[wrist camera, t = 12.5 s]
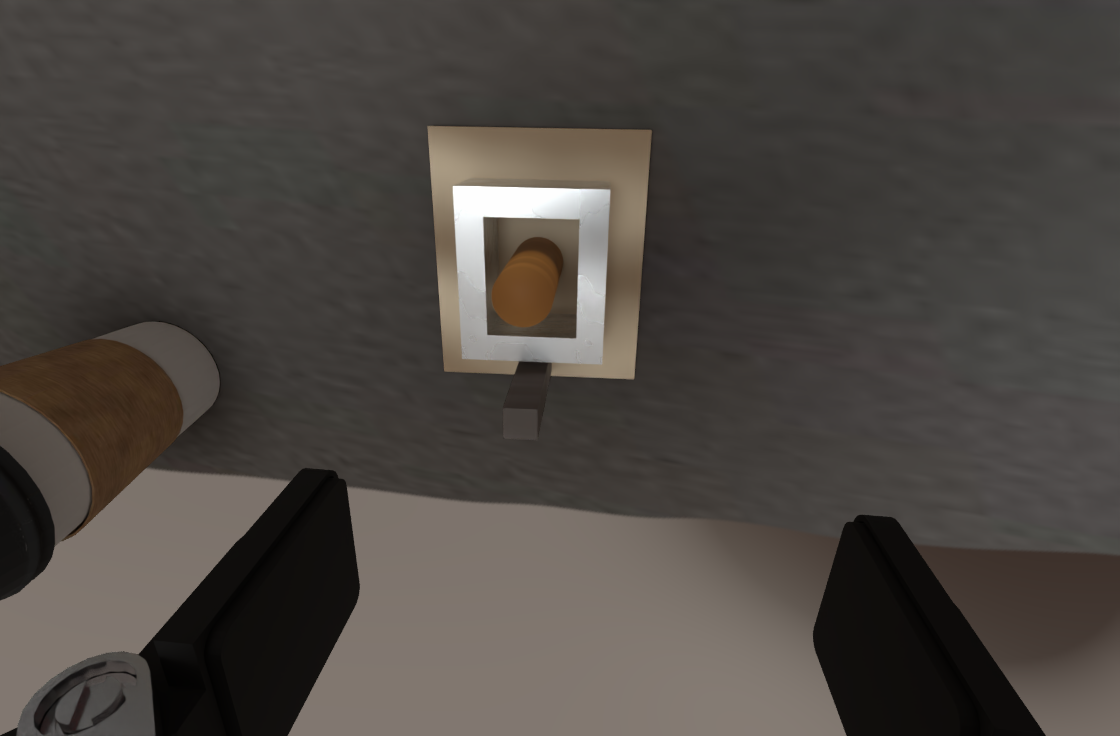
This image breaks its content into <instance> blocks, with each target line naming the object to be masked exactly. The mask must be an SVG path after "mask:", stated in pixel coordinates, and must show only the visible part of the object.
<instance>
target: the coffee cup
mask: <svg viewBox="0 0 1120 736" xmlns="http://www.w3.org/2000/svg"><path fill="white" fill-rule="evenodd" d="M219 387H220V379H219V372H218V369H217V366H216V363H215V361H214V360H213V358H212V356H211V354H210V353H209V351H208V350H207V349H206V348H205V346H204V345H203V344H202V343H201V342H200V341H199V340H198V339H197V338H195V337H194V336H193V335H191V334H190V333H188V332H187V331H185V330H183V329H181V328H179V327H177V326H174V325H171V324H168V323H163V322H155V321H153V322H143V323H139V324H136V325H132V326H129V327H126V328H123V329H120V330H117V331H114V332H111V333H108V334H105V335H102V336H99V337H96V338H93V339H89V340H85V341H82V342H78V343H75V344H72V345H69V346H65V347H62V348H59V349H55V350H52V351H49V352H46V353H42V354H39V355H36V356H32V357H29V358H26V359H22V360H19V361H16V362H13V363H9V364H6V365H3V366H0V600H2V599H5V598H7V597H10V596H12V595H14V594H16V593H18V592H20V591H21V590H22V589H23V588H24V587H25V586H26V585H27V584H29V583H30V582H31V580H33V579H35V577H37V576H38V575H39V574H40V573H41V572H43V571H44V570H45V568H46V566H47V565H48V563H49V561H50V560H51V558H52V555H53V550H54V547H55V546H56V545H57V544H58V543H59V542H60V541H64V540H66V539H68V538H70V537H72V536H74V535H76V534H77V533H78V532H79V531H80V530H81V529H82V528H84V527H85V526H86V525H87V524H88V523H89V522H90V521H91V520H92V519H93V518H94V517H95V516H96V515H97V514H98V513H99V512H100V511H101V510H102V509H103V508H105V507H106V506H107V505H108V504H109V503H110V502H111V501H112V500H113V499H114V498H115V497H116V496H117V495H118V494H119V493H120V492H121V491H122V490H123V489H124V488H125V487H126V486H128V485H129V484H130V483H131V482H132V481H133V480H134V479H135V478H136V477H137V476H138V475H139V474H140V473H141V472H142V471H143V470H144V469H145V468H146V467H148V466H149V465H150V464H151V463H152V462H153V461H154V460H155V459H156V458H157V457H158V456H159V455H160V454H161V453H162V452H163V451H164V450H165V449H166V448H167V447H169V446H170V445H171V444H172V443H173V442H174V441H175V439H176V438H177V437H178V436H179V435H180V434H181V433H182V432H184V431H185V430H186V429H187V428H188V427H189V426H190V425H191V424H192V423H194V422H195V421H196V420H197V419H198V418H199V417H200V416H201V415H203V414H204V413H205V412H206V411H207V410H208V409H209V408H210V407H211V406H212V405H213V403H214V402H215V400H216V398H217V396H218V393H219Z"/></svg>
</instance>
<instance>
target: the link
mask: <svg viewBox="0 0 1120 736" xmlns="http://www.w3.org/2000/svg"><path fill="white" fill-rule="evenodd" d="M453 200H454V219H455V237H456V256H457V274H458V293H459V311H460V330H461V348H462V359H477V360H501V361H526V362H551V363H576V364H600V365H602V357H603V336H604V314H605V293H606V272H607V251H608V230H609V209H610V181H581V180H537V179H493V178H469V179H467V180H465V181H463V182H460V183H458V184H456V185H454V186H453ZM497 217H508V218H545V219H580V224H579V259H578V295H577V314H552V313H549V314H548V315H547V317H546V318H545V319H544V320H543V321H541V322H540V323H538V324H536V325H534V326H530V327H517V326H513V325H511V324H509V323H507V322H505V321H504V320H503V319H501V318H500V316H499V315H498V314H497V313H496V311H495V309H494V307H493V304H492V298H491V294H492V288H493V285H494V283H495V281H496V280H497V278H498V277H499V261H498V222H497Z"/></svg>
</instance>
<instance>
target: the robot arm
mask: <svg viewBox="0 0 1120 736" xmlns="http://www.w3.org/2000/svg"><path fill="white" fill-rule="evenodd" d="M359 590H360V584H359V576H358V569H357V562H356V553H355V546H354V538H353V531H352V524H351V516H350V508H349V501H348V493H347V486H346V482H345V480H343V479H338V475H337V473H336V472H335V471H333V470H322V469H310V468H305V469H302V470H301V471H300V472H299V473H298V474H297V475H296V476H295V477H294V478H293V480H292V481H291V482H290V483H289V484H288V485H287V486H286V488H285V489H284V490H283V491H282V492H281V493H280V495H279V496H278V497H277V498H276V499H275V500H274V502H273V503H272V504H271V505H270V506H269V507H268V508H267V510H266V511H265V512H264V513H263V514H262V515H261V516H260V518H259V519H258V520H257V521H256V522H255V523H254V524H253V526H252V527H251V528H250V529H249V530H248V532H247V533H246V534H245V535H244V536H243V537H242V538H241V539H239V540H238V541H237V542H236V543H235V544H234V546H233V547H232V548H231V549H230V550H229V551H228V552H227V553H226V555H225V556H224V557H223V558H222V559H221V560H220V562H219V563H218V564H217V565H216V566H215V567H214V568H213V570H212V571H211V572H210V573H209V574H208V575H207V576H206V578H205V579H204V580H203V581H202V582H201V583H200V585H199V586H198V587H197V588H196V589H195V590H194V591H193V593H192V594H191V595H190V596H189V597H188V598H187V599H186V601H185V602H184V603H183V604H182V605H181V606H180V607H179V609H178V610H177V611H176V612H175V613H174V615H173V616H172V617H171V618H170V619H169V620H168V621H167V622H166V624H165V625H164V626H163V627H162V628H161V629H160V630H159V632H158V633H157V634H156V635H155V636H154V637H153V638H152V640H151V641H150V642H149V643H148V644H147V645H146V646H145V648H144V649H143V650H142V651H141V652H140V653H139V654H134V653H129V652H124V651H123V652H112V653H105V654H101V655H98V656H95V657H91V658H88V659H86V660H84V661H81V662H79V663H77V664H75V665H73V666H71V667H69V668H67V669H66V670H64V671H63V672H61V673H60V674H58V675H57V676H55V677H54V678H52V679H51V680H49V681H48V682H47V683H46V684H45V685H44V686H43V687H42V688H41V689H39V690H38V691H37V692H36V693H35V694H34V696H33V697H32V698H31V700H30V701H29V702H28V704H27V705H26V706H25V708H24V709H23V711H22V714H21V717H20V720H19V723H18V727H17V728H15V729H13V730H11V731H9V732H7V733H5V734H2V735H0V736H288V734H289V732H290V730H291V728H292V726H293V724H294V722H295V720H296V719H297V717H298V715H299V713H300V711H301V709H302V707H303V705H304V703H305V701H306V699H307V697H308V695H309V694H310V691H311V690H312V687H313V686H314V684H315V682H316V680H317V678H318V676H319V674H320V672H321V671H322V669H323V667H324V665H325V663H326V661H327V659H328V657H329V655H330V653H331V651H332V650H333V648H334V645H335V643H336V642H337V640H338V638H339V636H340V634H341V632H342V630H343V628H344V626H345V625H346V623H347V621H348V619H349V617H350V615H351V613H352V611H353V609H354V607H355V605H356V603H357V600H358V596H359ZM813 642H814V648H815V651H816V654H817V656H818V659H819V662H820V665H821V668H822V670H823V673H824V676H825V678H826V681H827V684H828V687H829V689H830V692H831V695H832V697H833V700H834V703H835V705H836V708H837V711H838V714H839V716H840V719H841V722H842V724H843V727H844V730H845V733H846V735H847V736H1046V735H1045V734H1044V733H1043V731H1042V730H1041V728H1040V726H1039V725H1038V723H1037V722H1036V721H1035V719H1034V718H1033V716H1032V715H1031V713H1030V712H1029V710H1028V709H1027V707H1026V706H1025V705H1024V703H1023V702H1022V700H1021V699H1020V697H1019V696H1018V694H1017V693H1016V692H1015V690H1014V689H1013V687H1012V686H1011V684H1010V683H1009V681H1008V680H1007V678H1006V677H1005V675H1004V674H1003V672H1002V671H1001V670H1000V668H999V667H998V665H997V664H996V662H995V661H994V660H993V658H992V657H991V655H990V654H989V652H988V651H987V649H986V648H985V646H984V645H983V644H982V642H981V641H980V639H979V638H978V636H977V635H976V633H975V632H974V630H973V629H972V627H971V626H970V624H969V623H968V621H967V620H966V619H965V617H964V616H963V614H962V613H961V611H960V610H959V609H958V608H957V606H956V605H955V604H954V603H953V602H952V600H951V599H950V597H949V596H948V594H947V593H946V591H945V590H944V588H943V587H942V585H941V584H940V583H939V581H938V580H937V578H936V577H935V575H934V574H933V572H932V571H931V569H930V568H929V567H928V565H927V564H926V562H925V561H924V559H923V558H922V556H921V555H920V553H919V552H918V550H917V549H916V547H915V546H914V544H913V543H912V542H911V540H910V539H909V537H908V536H907V534H906V533H905V531H904V530H903V528H902V527H901V525H900V524H899V523H898V521H897V520H896V519H894V518H892V517H883V516H871V515H858V516H857V517H856V518H855V520H854V522H847V523H846V524H845V526H844V528H843V531H842V535H841V538H840V541H839V545H838V548H837V551H836V555H835V558H834V562H833V565H832V569H831V572H830V575H829V578H828V582H827V585H826V589H825V592H824V595H823V599H822V602H821V606H820V609H819V612H818V616H817V619H816V622H815V626H814V631H813Z"/></svg>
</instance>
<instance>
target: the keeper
mask: <svg viewBox="0 0 1120 736" xmlns="http://www.w3.org/2000/svg"><path fill="white" fill-rule="evenodd" d="M651 134H652V130H637V129H578V128H520V127H462V126H428V140H429V154H430V169H431V184H432V198H433V213H434V228H435V242H436V257H437V272H438V286H439V301H440V316H441V330H442V345H443V360H444V371H445V372H470V373H494V374H514V377H513V380H512V383H511V386H510V388H509V391H508V394H507V397H506V400H505V403H504V406H503V438H504V439H525V440H538V435H539V430H540V425H541V420H542V416H543V411H544V406H545V401H546V396H547V391H548V386H549V381H550V377H551V376H567V377H591V378H615V379H634V374H635V360H636V346H637V332H638V318H639V304H640V290H641V276H642V261H643V247H644V233H645V219H646V205H647V191H648V177H649V163H650V149H651ZM469 178H493V179H537V180H581V181H610V209H609V230H608V251H607V272H606V293H605V314H604V336H603V357H602V365H600V364H576V363H551V362H526V361H501V360H477V359H462V348H461V330H460V311H459V293H458V274H457V256H456V237H455V219H454V200H453V186H454V185H456V184H458V183H460V182H463V181H465V180H467V179H469ZM497 222H498V261H499V277H498V278H497V280H496V281H495V283H494V285H493V288H492V294H491V298H492V304H493V307H494V309H495V311H496V313H497V314H498V315H499V316H500V318H501V319H503V320H504V321H505V322H507V323H509V324H511V325H513V326H517V327H530V326H534V325H536V324H538V323H540V322H541V321H543V320H544V319H545V318H546V317H547V315H548V314H549V313H552V314H577V295H578V259H579V224H580V219H545V218H508V217H497Z"/></svg>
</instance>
